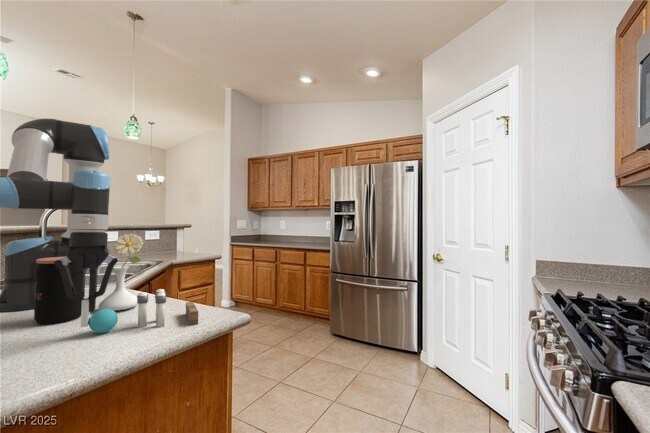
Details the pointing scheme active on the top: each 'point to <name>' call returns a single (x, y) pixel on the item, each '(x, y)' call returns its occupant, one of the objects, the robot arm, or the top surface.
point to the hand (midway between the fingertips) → (85, 325)
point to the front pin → (142, 309)
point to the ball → (103, 320)
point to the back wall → (192, 313)
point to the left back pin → (158, 292)
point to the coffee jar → (53, 293)
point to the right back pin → (160, 309)
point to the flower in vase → (123, 274)
